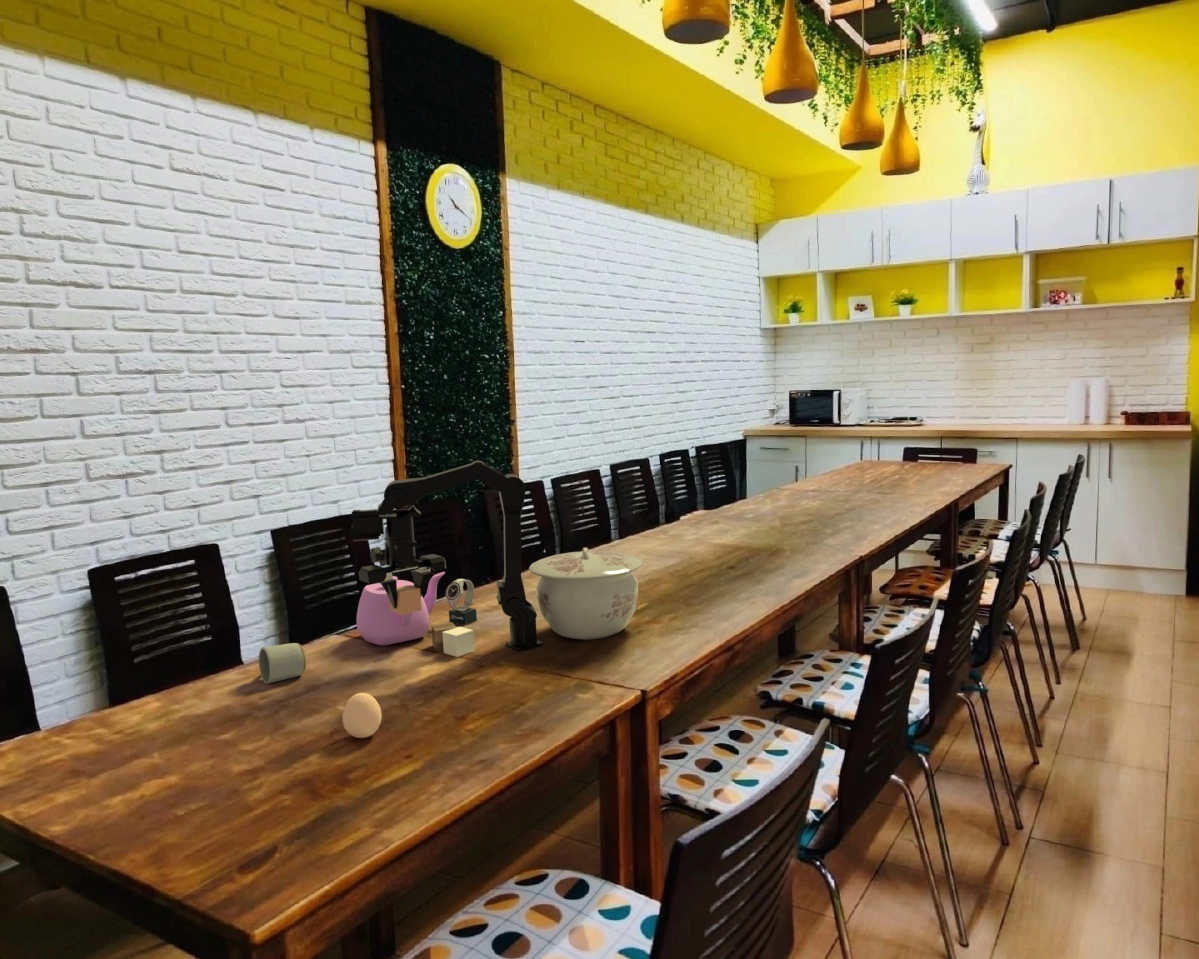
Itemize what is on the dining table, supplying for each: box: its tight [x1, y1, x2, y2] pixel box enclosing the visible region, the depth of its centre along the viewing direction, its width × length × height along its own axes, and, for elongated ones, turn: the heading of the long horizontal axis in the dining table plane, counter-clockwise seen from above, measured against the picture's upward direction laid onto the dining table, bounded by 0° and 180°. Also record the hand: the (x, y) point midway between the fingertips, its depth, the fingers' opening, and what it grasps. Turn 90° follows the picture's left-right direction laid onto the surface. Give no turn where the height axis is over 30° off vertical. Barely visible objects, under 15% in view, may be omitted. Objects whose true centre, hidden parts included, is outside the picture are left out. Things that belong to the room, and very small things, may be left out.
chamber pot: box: [528, 547, 644, 641], centre depth 207 cm, size 28×28×21 cm
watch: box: [444, 578, 478, 626], centre depth 221 cm, size 6×8×11 cm
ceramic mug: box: [258, 642, 307, 685], centre depth 185 cm, size 11×8×8 cm
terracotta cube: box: [390, 585, 422, 615], centre depth 193 cm, size 5×5×5 cm
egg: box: [342, 692, 383, 739], centre depth 152 cm, size 7×7×8 cm
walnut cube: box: [430, 622, 458, 653], centre depth 201 cm, size 5×5×5 cm
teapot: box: [356, 571, 446, 647], centre depth 210 cm, size 23×21×15 cm
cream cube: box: [442, 626, 476, 658], centre depth 197 cm, size 5×5×5 cm
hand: (406, 605), depth 193 cm, fingers closed on terracotta cube, 5 cm apart
